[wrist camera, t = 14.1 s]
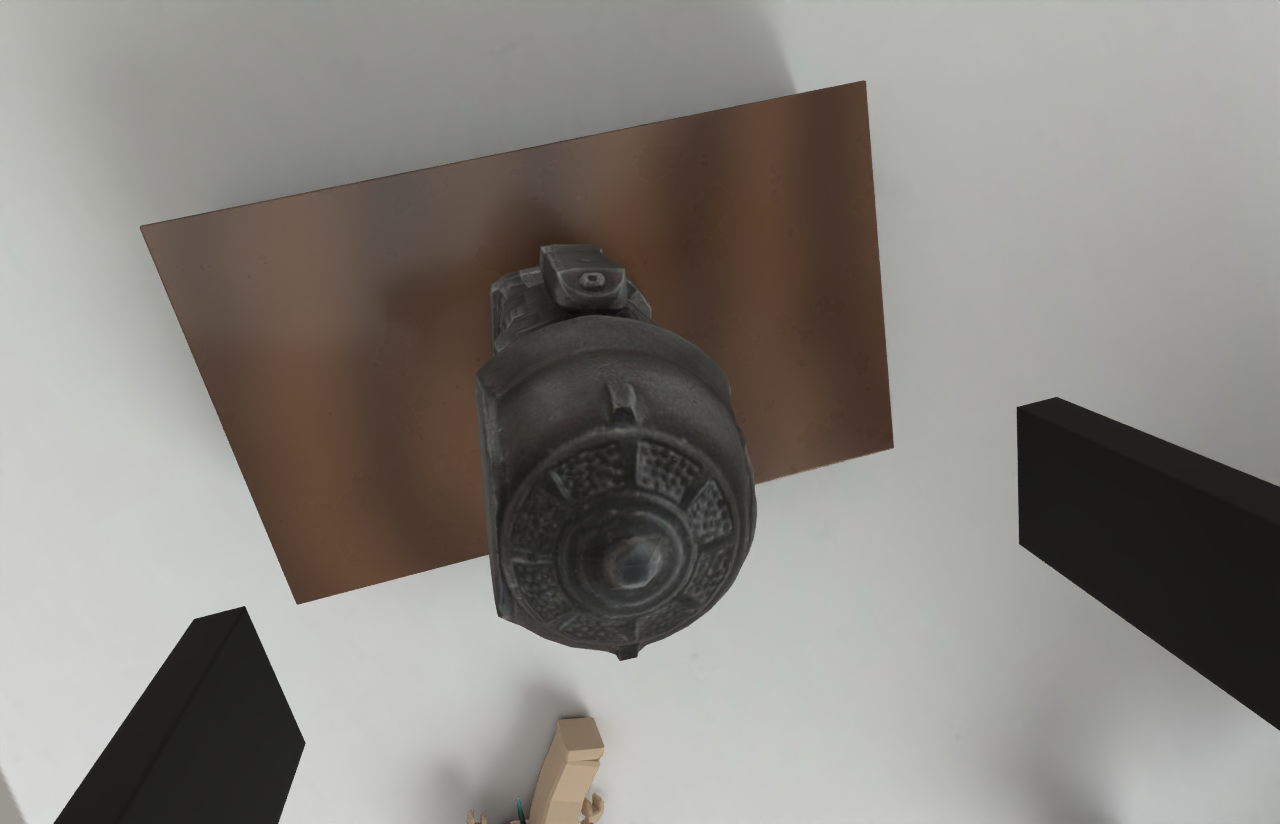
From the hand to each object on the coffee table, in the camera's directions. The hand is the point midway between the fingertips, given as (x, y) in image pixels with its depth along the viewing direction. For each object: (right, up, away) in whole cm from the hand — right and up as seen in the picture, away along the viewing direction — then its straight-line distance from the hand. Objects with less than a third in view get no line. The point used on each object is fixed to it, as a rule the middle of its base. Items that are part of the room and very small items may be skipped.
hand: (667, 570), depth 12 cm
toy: (-3, +5, +14) cm, 15 cm away
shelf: (-4, +7, +20) cm, 21 cm away
